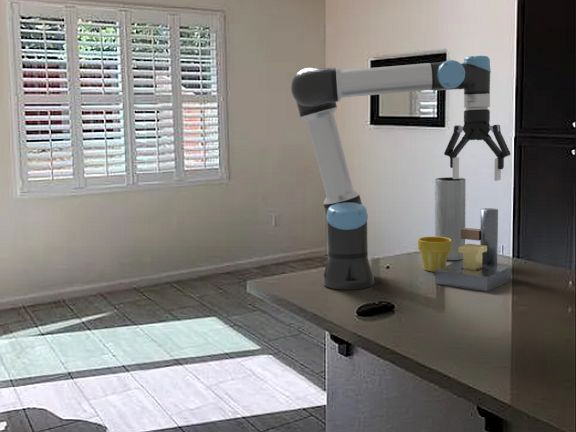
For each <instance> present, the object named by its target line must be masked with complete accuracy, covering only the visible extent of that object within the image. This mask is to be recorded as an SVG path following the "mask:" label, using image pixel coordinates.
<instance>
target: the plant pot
mask: <svg viewBox="0 0 576 432" xmlns="http://www.w3.org/2000/svg"><path fill="white" fill-rule="evenodd" d="M417 249H418V251H419V252H420V257H421V263H422V267H423V270H424V271H428V272H435V270H437V269H439V268H442V267H445V266H447V262H448V260H447V257H448V253H449V251H450V250H451V239H449V238H446V237H435V236H422V237H419V238H417Z"/></svg>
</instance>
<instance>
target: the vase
mask: <svg viewBox="0 0 576 432" xmlns="http://www.w3.org/2000/svg"><path fill="white" fill-rule="evenodd" d="M466 181H467V180H466V178H464V177H459V178H457V179H453V176H452V177H437V178H435V180H434V237H446V238H449V239H451V250H450V251H449V253H448V257H447V261H460V260H463V253H459V252H458V247H460V246H463V245H465V244H466V239H461V229H463V228H466V185H467V184H466Z"/></svg>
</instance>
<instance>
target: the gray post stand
mask: <svg viewBox="0 0 576 432" xmlns="http://www.w3.org/2000/svg"><path fill="white" fill-rule="evenodd" d="M498 236H499V209H498V208H493V207H492V208H491V207H490V208H488V207H487V208H480V228H472V227H465V228H463V229H461V239H465V240H470V241H477V242H478V241H479V243H480V244H479V245H486V246H487V251H486V252H483V253H482V270H480V271H471V270H464V269H463V259H461V260H456V261H454V262H453V263H450V264H446V266H445V267H442V268H439V269H437V270H435V271H434V273H435V274H434V281H435V285H443V286H447V287H448V286H449V287H455V288H456V287H457V288H460V289H461V288H463V289H468V290H474V291H475V290H476V291H481V292H490V291H491V290H493V289H495V288H497V287H499V286H501V285H503V284H505V283H507V282H509V281H511V279H512V278H511V277H512V272H511V271H512V266H509V265H503V264H498V257H499V256H498V254H499V253H498V252H499V251H498V250H499V249H498V248H499V247H498V246H499V245H498V242H499V241H498V240H499V237H498Z"/></svg>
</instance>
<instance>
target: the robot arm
mask: <svg viewBox="0 0 576 432" xmlns="http://www.w3.org/2000/svg"><path fill="white" fill-rule="evenodd" d="M290 89H291V94H292V97H293V98H294V100H295V102H296V107H297V109H298V113H299V117H300V119H302V120H303V121H305V122H306V124H307V128H308V132H309V136H310V140H311V142H312V147H313V150H314V155H315V157H316V161H317V165H318V170H319V174H320V176H321V178H320V179H321V180H322V185H323V188H324V192H325V199H324V201H323V207H324V211H325V215H326V222H327V223H326V224H327V225H326V226H327V253H328V254H327V256H328V257H327V261H326V264H325V269H324V272H323V275H322V285H323V286H325V287H326V288H329V289H333V290H347V291H348V290H362V289H365V288H370V287H372V286H373V285H374V284H375V275H374V273H373V270H372V266H371V264H370V260H369V255H368V252H369V250H368V219H369V218H368V217H369V215H368V210H367V207H366V206H365V205H363V203H362V199H361V195H360V192H357V191H356V190H354V187H353V184H352V181H351V176H350V172H349V168H348V164H347V161H346V158H345V153H344V149H343V145H342V141H341V137H340V133H339V129H338V126H337V122H336V117H335V113H336V111H337V109H338V106H337V103H338V102H340V101H341V100H342V99H343V98H352V97H353V98H355V97H363V96H365V97H366V96H376V95H387V94H388V95H389V94H400V93H411V92H412V93H413V92H422V91H435V92H436V91H449V90H463V107H464V111H463V123H464V124H463V125H459V124H458V125H454V126H453V132H452V136H451V137H450V139H449V142H448V143H447V146H446V148H445V151H444V156H447V157H449V166H450V168H451V169H452V177H453V179H457V178H460V157H458V155H459V154H460V153H461V151H462V150H463V148H464V147H465V146H467V144H468V142H470V141H475V140H477V141H483V142H485V144H486V146H488V147H489V149H490V150H491V151H492V153H494V155H495V156H496V158H494V179H493V180H494V181H495V182H497V181H501V180H502V179H501V177H502V176H501V175H502V170H503V169H504V167H505V158H506V157H509V156H511V151H510V150H509V147H508V144H507V142H506V141H505V138H504V136H503V134H502V133H501V125H500V124H494V125H490V121H491V120H490V118H491V117H490V115H491V114H490V113H491V112H490V109H489V108H490V107H491V94H490V93H491V59H490V58H489V56H486V55H470V56H465V58H464V59H463V62H462V63H461V62H459V61H457V60H453V59H452V60H451V59H450V60H449V59H448V60H446V61H440V62H439V61H437V62H436V61H435V62H431V63H430V62H428V63H427V62H426V63H415V64H414V63H413V64H404V65H392V66H391V65H390V66H380V67H379V66H377V67H368V68H367V67H366V68H359V69H358V68H354V69H345V70H341V69H339V67H316V66H315V67H313V66H312V67H311V66H308V67H304V68H302V69H300V70H299V71H297V72H296V74H295V75H294V76H293V79H292V80H291V85H290ZM490 131H491V132H492V133H493V135H494V138H495V140H496V142H497V144H498V145H497V144H496V142H495V141H494V140H493V138H492V136H491V135H490V134H489V133H490ZM462 132H463V133H464V135H463V137H462V138H461V140H459V138H460V136H461V133H462ZM458 140H459V142H458ZM457 142H458V143H457ZM456 144H457V145H456Z"/></svg>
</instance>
